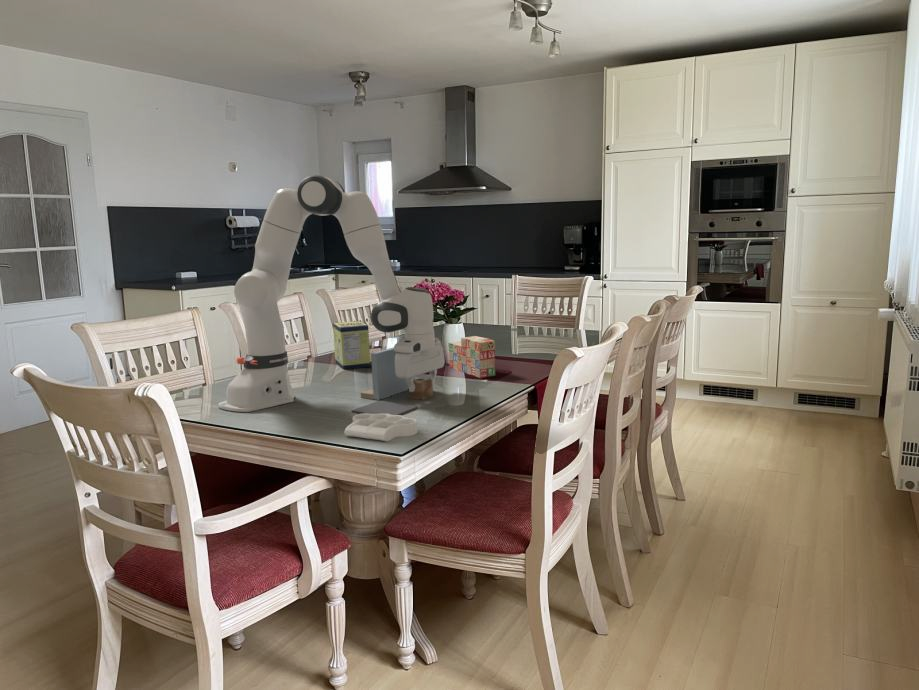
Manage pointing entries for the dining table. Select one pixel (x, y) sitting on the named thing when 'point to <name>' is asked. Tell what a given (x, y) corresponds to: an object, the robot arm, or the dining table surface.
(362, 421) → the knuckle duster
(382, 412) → the mat
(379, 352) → the pale blue flat slab
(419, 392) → the walnut cube
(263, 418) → the dining table surface
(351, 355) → the protein box
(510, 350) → the dining table surface
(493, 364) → the stack of blocks
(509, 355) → the dining table surface
